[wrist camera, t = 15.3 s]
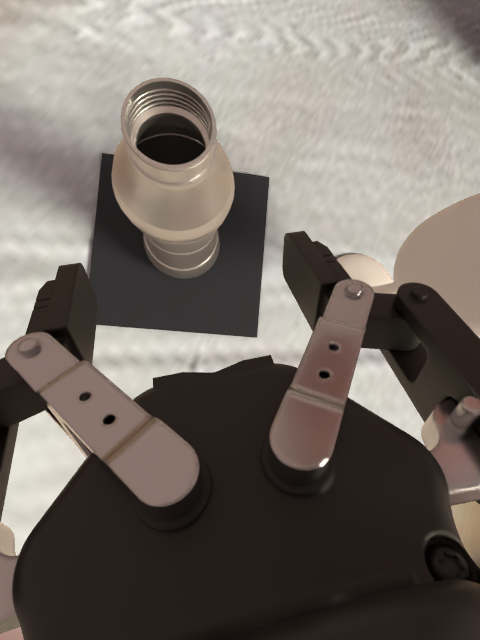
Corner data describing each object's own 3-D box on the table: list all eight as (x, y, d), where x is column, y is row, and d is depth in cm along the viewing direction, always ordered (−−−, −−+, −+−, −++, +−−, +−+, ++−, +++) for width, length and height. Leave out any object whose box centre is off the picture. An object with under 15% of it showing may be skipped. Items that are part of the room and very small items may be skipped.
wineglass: (351, 237, 36) (571, 105, 15) (410, 293, 37) (699, 241, 16) (297, 299, 35) (455, 250, 14) (360, 356, 36) (597, 389, 15)
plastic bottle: (191, 296, 33) (193, 242, 13) (132, 254, 33) (40, 130, 13) (230, 243, 34) (286, 116, 14) (173, 200, 33) (147, 5, 13)
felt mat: (103, 154, 33) (102, 153, 32) (268, 178, 35) (269, 177, 35) (85, 323, 32) (84, 323, 32) (256, 337, 34) (256, 337, 34)
